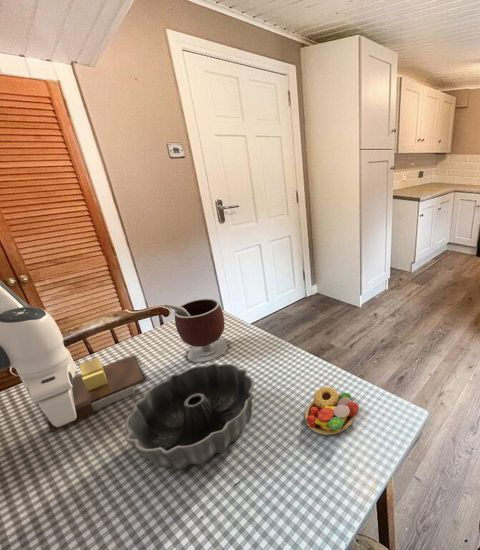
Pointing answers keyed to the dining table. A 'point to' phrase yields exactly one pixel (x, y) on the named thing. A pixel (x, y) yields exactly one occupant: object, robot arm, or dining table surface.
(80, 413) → the knife
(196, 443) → the bundt pan
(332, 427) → the toy food set
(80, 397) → the butter board
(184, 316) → the mate gourd
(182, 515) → the dining table surface
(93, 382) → the butter pat
